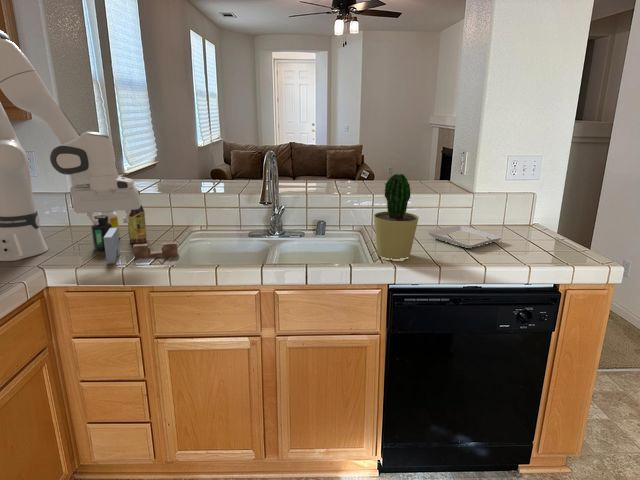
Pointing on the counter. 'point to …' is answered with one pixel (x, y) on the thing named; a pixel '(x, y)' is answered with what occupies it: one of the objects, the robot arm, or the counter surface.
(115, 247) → the blue gray rectangular block
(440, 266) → the counter surface
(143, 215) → the sauce bottle
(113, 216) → the supplement bottle
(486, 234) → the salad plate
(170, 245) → the notched block
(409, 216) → the potted cactus
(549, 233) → the counter surface
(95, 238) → the supplement bottle
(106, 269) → the counter surface
